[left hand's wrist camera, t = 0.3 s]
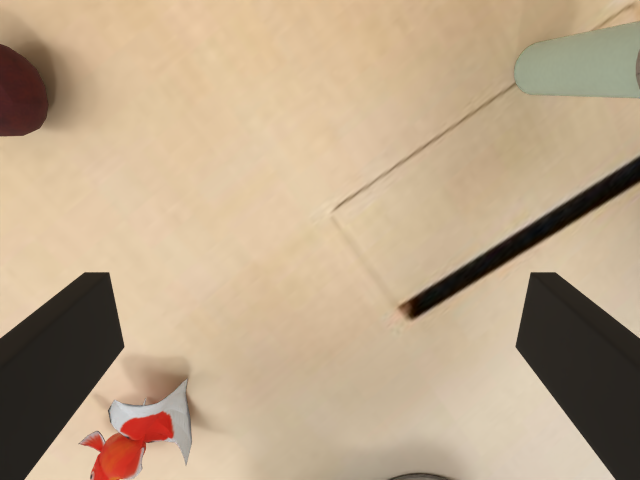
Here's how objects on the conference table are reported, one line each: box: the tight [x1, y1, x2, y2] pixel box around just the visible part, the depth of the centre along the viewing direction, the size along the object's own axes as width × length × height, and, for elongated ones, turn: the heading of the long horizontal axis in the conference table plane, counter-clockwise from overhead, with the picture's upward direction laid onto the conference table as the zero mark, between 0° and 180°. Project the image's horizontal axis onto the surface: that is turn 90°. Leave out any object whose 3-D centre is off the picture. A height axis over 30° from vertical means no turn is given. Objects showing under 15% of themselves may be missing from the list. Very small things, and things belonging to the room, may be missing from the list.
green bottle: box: [514, 21, 640, 98], centre depth 28 cm, size 4×4×17 cm
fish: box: [79, 378, 192, 480], centre depth 46 cm, size 11×16×10 cm
